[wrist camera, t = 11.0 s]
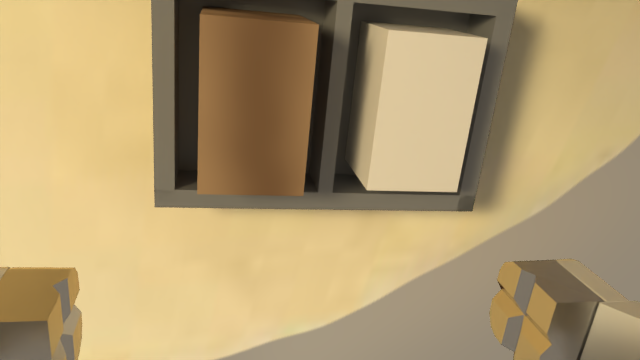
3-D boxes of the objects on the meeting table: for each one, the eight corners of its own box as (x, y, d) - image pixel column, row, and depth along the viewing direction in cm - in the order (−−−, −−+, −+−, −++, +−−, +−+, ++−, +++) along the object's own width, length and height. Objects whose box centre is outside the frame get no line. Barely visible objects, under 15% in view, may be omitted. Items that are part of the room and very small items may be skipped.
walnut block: (200, 153, 30) (197, 194, 24) (203, 6, 27) (199, 14, 21) (288, 156, 31) (303, 196, 25) (298, 14, 28) (319, 24, 22)
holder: (162, 179, 31) (154, 207, 27) (159, -40, 27) (150, -42, 23) (445, 186, 35) (472, 211, 31) (482, -6, 30) (518, -3, 27)
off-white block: (345, 158, 31) (366, 190, 27) (361, 20, 29) (388, 29, 24) (423, 161, 32) (456, 192, 28) (446, 28, 30) (487, 38, 25)
